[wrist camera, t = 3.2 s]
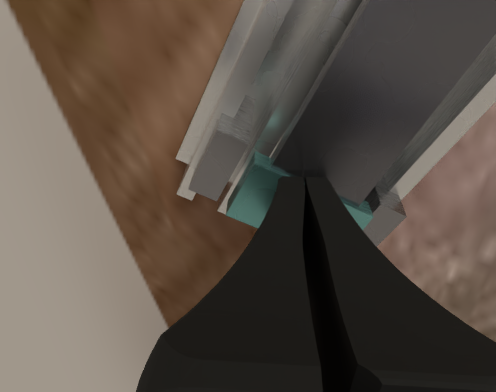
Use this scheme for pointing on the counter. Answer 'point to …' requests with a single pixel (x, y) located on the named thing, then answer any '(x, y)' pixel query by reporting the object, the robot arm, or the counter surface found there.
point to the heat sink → (292, 96)
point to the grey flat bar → (370, 100)
